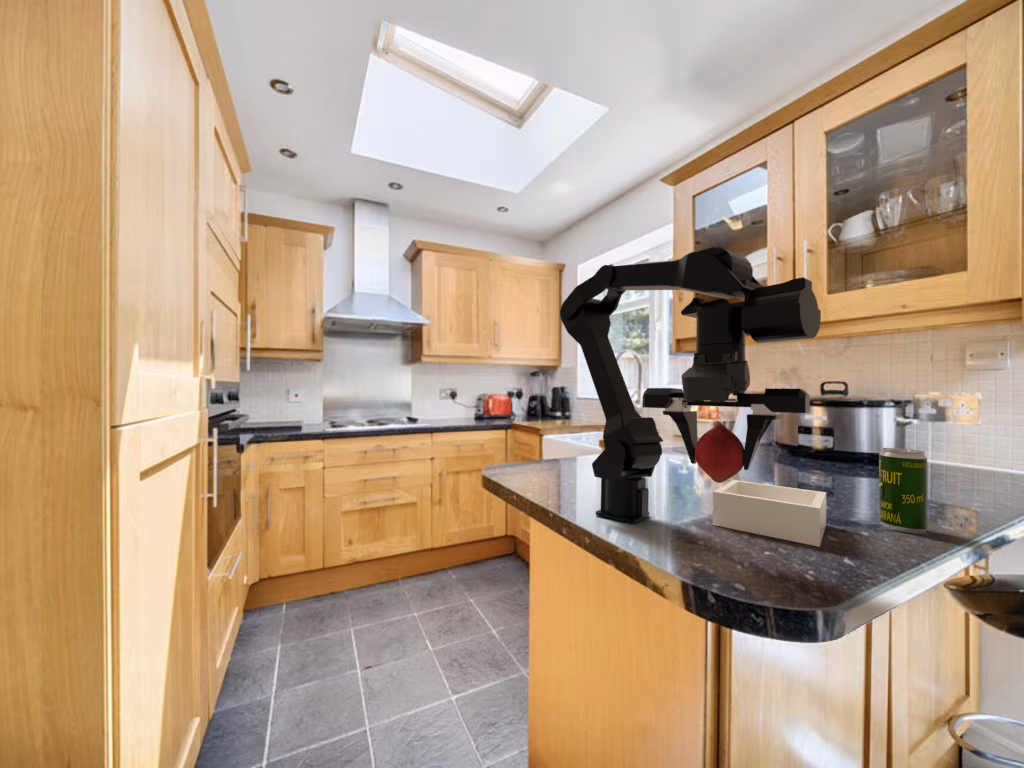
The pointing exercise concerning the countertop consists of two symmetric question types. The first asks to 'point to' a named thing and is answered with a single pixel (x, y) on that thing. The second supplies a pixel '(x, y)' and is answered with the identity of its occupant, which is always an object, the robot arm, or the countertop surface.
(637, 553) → the countertop surface
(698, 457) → the onion
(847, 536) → the countertop surface
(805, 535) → the bin
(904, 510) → the green soda can
